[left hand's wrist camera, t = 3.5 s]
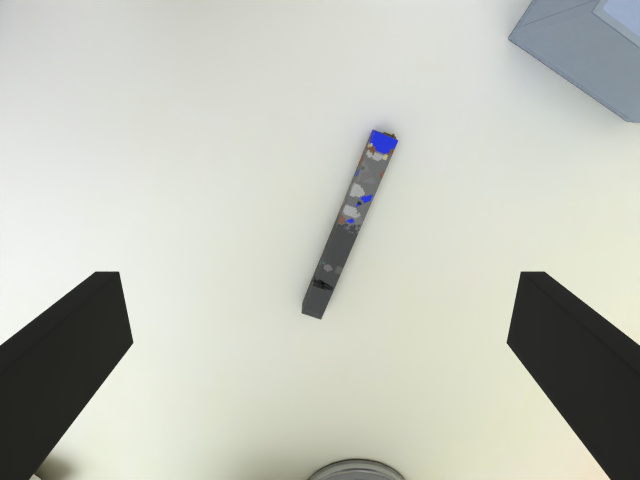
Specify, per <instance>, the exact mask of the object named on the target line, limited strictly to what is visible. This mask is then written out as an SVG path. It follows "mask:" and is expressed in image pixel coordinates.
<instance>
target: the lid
mask: <svg viewBox="0 0 640 480" xmlns="http://www.w3.org/2000/svg"><path fill="white" fill-rule="evenodd" d="M593 13H594V14H595V15H597V16H598V17H599V18H601V19H602V20H603V21H605V22H606V23H608V24H609V25H610V26H612V27H613V28H614V29H616V30H617V31H618V32H620V33H621V34H622V35H624V36H625V37H626V38H628V39H629V40H630V41H632V42H633V43H634V44H636V45H637V46H638V47H640V0H600V2H599V3H598V4H597V6H596V7H595V9H594V10H593Z"/></svg>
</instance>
